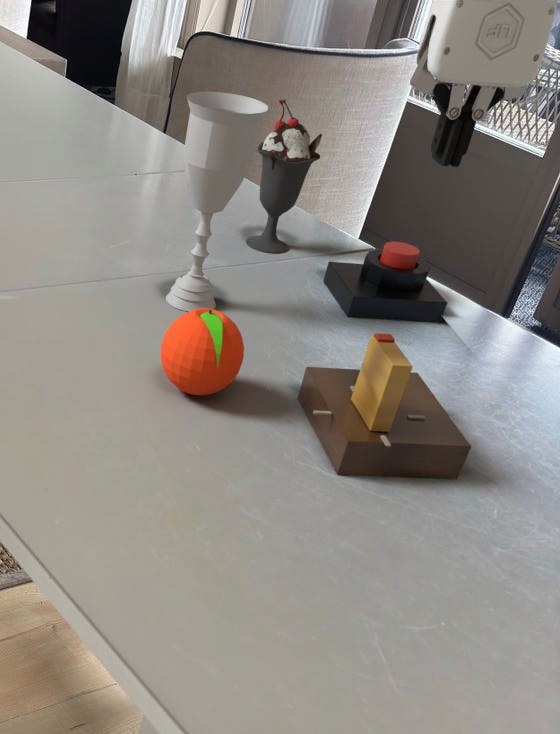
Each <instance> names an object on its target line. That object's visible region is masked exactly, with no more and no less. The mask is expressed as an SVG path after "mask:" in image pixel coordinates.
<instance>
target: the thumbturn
mask: <svg viewBox="0 0 560 734" xmlns="http://www.w3.org/2000/svg"><path fill="white" fill-rule="evenodd" d="M359 370H360V372H359V375H358V378H357V381H356V384H355V388H354V391H353V394H352V397H351V400H352V402H353V404H354V405H355V407H356V408H357V410H358V412H359V413H360V415H361V417H362V418H363V420H364V422H365V423H366V425H367V426H368V428H369V430H370V431H382V432H389V431H390V429H391V426H392V423H393V420H394V417H395V415H396V412H397V409H398V406H399V403H400V401H401V398H402V395H403V392H404V390H405V387H406V384H407V381H408V378H409V376H410V373H411V372H412V370H413V364H412V363H411V361H410V360H409V359H408V358H407V356H406V355H405V354H404V353H403V351H402V350H401V348H400V347H399V346H398V344H397V343H396V341H395V338H394V337H393V335H392V334H391V333H382V332H381V333H380V332H379V333H378V332H374V334H372V335H370V337H369V341H368V344H367V347H366V351H365V353H364V356H363V360H362V363H361V366H360V369H359Z"/></svg>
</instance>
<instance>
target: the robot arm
mask: <svg viewBox="0 0 560 734" xmlns="http://www.w3.org/2000/svg"><path fill="white" fill-rule="evenodd" d="M558 3H559V0H432V2H431V6H430V9H429V12H428V15H427V18H426V22H425V24H424V28H423V31H422V34H421V37H420V41H419V44H418V48H417V54H416V64H417V65H416V68H415V70H414V72H413V73H412V76H411V78H410V81H409V85H410V87H411V88H413V89H414V90H416V91H418V92H421V93H423V94H425V95H428V96H431V97H432V100H433V101H434V103H435V105H436V109H437V111H438V112H439V116H438V120H437V124H436V126H435V127H436V128H435V130H434V133H433V138H432V141H431V143H430V144H431V145H430V151H431V159H433V160H434V161H435V162H436V163H437V164H439V165H440V166H441V167H449V166H451V167H452V168H459V167H460V165H461V162H462V159H463V156H465V155H466V154H467V152H468V150H469V147H470V143H471V140H472V137H473V134H474V131H475V127H476V124H477V122H479V121H482V120H483V118H484V117H485V115H486V113H487V112H489V110H491V109H492V108H494V106H496V105H498V103H500V102H501V101H508V100H512V99H519V98H521V97H523V96H524V95H525V94H526V90H527V85H529V84H531V83H532V82H533V81H534V80H535V78H536V77H537V75H538V73H539V71H540V67H541V65H542V61H543V59H544V55H545V52H546V49H547V45H548V43H549V38H550V35H551V32H552V27H553V25H554V20H555V17H556V13H557V8H558ZM466 85H469V87H468V89H467V92H466V94H465V91H466V90H465V89H466ZM464 96H465V97H464Z"/></svg>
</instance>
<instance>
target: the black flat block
mask: <svg viewBox="0 0 560 734" xmlns="http://www.w3.org/2000/svg"><path fill="white" fill-rule="evenodd" d="M383 249H384V248H378V249H377V248H376V249H372V250H368V252H367V254H365V256H364V260H363V263H353V262H342V261H341V262H339V261H328V263H327V266H326V270H325V272H324V273H325V274H324V278H323V280H322V282H323V283H324V285H325V286H326V287H327V289H328V291H329V292H330V294H331V295H332V296H333V298H334V300H335V301H336V303H337V304H338V305H339V307H340V308H341V310H342V312H343V313H344V314H345V315H346V317H347V318H353V319H366V320H367V319H368V320H369V319H370V320H383V321H398V322H399V321H400V322H401V321H402V322H417V323H433V324H441V322H442V319H443V316H444V314H445V311H446V310H447V309H446V308H447V306H448V302H447V300H446V299H445V298H444V296H442V295H441V294H440V292H439V291H438V290H437V289H436V287H435V286H434V285H433V284H432V283H431V282H430V281H429V280H428V279H427V278H428V276H429V273H430V270H431V266H430V264H429V263H428V262H427V261H426V260H425V259H424V258H421V257H419V256H418V259H417V262H416V265H415V268H414V269H410V270H409V269H399V268H395V267H391V266H388V265H386V264H384V263H382V262H381V261H380V258H381V255H382V252H383Z"/></svg>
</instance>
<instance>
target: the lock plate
mask: <svg viewBox="0 0 560 734" xmlns="http://www.w3.org/2000/svg"><path fill="white" fill-rule="evenodd" d="M359 372H360V369H359V368H357V369H356V368H341V367H339V368H338V367H320V366H319V367H318V366H306V367H305V370H304V373H303V378H302V381H301V384H300V387H299V392H298V395H297V400H298V403H299V404H300V406H301V408H302V410H303V412H304V414H305V416H306V418H307V420H308V421H309V423H310V425H311V427H312V429H313V431H314V433H315V435H316V437H317V439H318V441H319V442H320V444H321V446H322V448H323V450H324V452H325V454H326V456H327V457H328V459H329V462H330V464H331V465H332V467H333V469H334V472H335V474H336V475H339V476H341V475H342V476H363V477H366V476H367V477H390V478H391V477H393V478H394V477H395V478H416V479H417V478H419V479H443V480H445V479H446V480H458V479H459V477H460V474H461V473H462V469H463V468H464V465H465V463H466V461H467V458H468V456H469V454H470V451H471V449H472V445H471V444H470V442H469V441H468V439H467V438H466V436H465V435H464V434H463V433H462V431H461V430H460V428H458V426H457V424H455V423H456V422H454V421H453V419H452V418H451V417H450V414H448V412H447V411H446V409H445V408H444V407H443V405H442V404H441V402H439V400H438V398H436V396H435V395H434V393H433V392H432V390H431V389H430V388H429V386H428V385H427V384H426V382H425V381H424V379H423V378H422V377H421V375H420V374H419V373H418V372H412V371H411V373H410V376H409V378H408V381H407V384H406V387H405V390H404V392H403V395H402V398H401V401H400V403H399V406H398V409H397V412H396V415H395V417H394V420H393V423H392V426H391V429H390V431H389V432H382V431H370V430H369V428H368V426H367V425H366V423H365V422H364V420H363V418H362V417H361V415H360V413H359V412H358V410H357V408H356V407H355V405H354V404H353V402H352V400H351V397H352V394H353V391H354V388H355V384H356V381H357V378H358V375H359Z"/></svg>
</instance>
